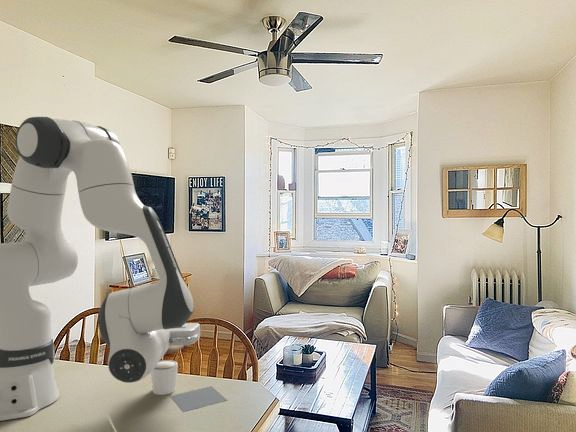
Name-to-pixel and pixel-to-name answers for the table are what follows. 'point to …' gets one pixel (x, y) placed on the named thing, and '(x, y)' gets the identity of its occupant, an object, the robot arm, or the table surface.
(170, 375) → the white cup
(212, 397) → the mat
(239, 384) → the table surface
